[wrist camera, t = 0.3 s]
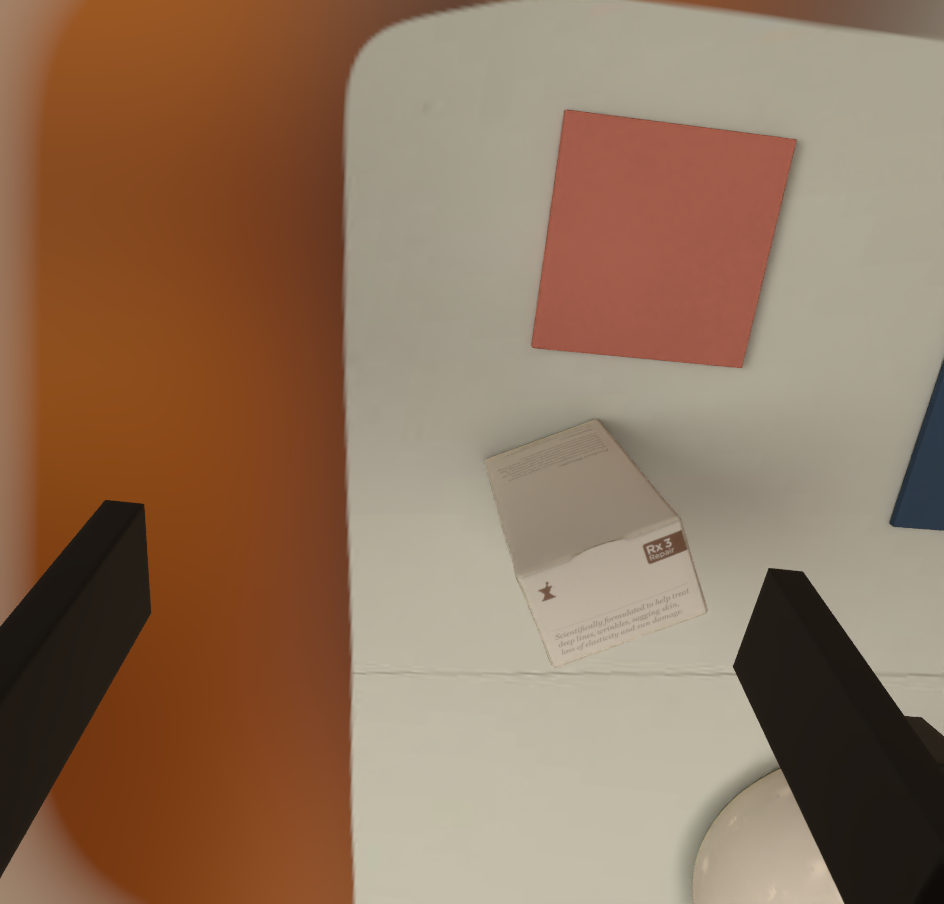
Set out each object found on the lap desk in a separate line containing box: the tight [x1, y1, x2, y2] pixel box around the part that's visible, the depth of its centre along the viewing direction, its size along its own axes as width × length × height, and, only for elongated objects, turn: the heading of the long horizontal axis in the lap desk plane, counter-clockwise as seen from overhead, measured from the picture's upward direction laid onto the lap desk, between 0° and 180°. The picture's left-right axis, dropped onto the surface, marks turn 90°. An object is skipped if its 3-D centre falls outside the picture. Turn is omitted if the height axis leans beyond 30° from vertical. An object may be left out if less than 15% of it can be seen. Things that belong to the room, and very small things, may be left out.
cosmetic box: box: [484, 419, 708, 667], centre depth 32 cm, size 6×4×12 cm
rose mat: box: [532, 110, 796, 368], centre depth 34 cm, size 10×10×1 cm
